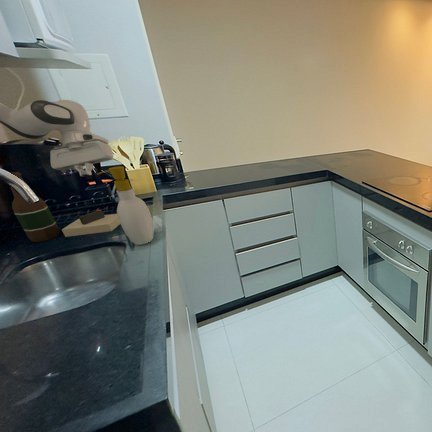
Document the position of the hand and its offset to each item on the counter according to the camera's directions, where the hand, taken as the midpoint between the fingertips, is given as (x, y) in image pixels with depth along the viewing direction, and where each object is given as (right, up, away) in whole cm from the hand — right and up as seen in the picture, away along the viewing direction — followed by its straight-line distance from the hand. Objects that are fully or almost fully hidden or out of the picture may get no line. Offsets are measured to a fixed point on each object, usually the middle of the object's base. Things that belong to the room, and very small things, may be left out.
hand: (86, 175), depth 115 cm
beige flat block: (+7, -20, -2) cm, 22 cm away
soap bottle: (+33, -25, -12) cm, 43 cm away
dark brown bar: (+7, -18, -4) cm, 19 cm away
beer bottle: (-5, -24, -9) cm, 26 cm away
